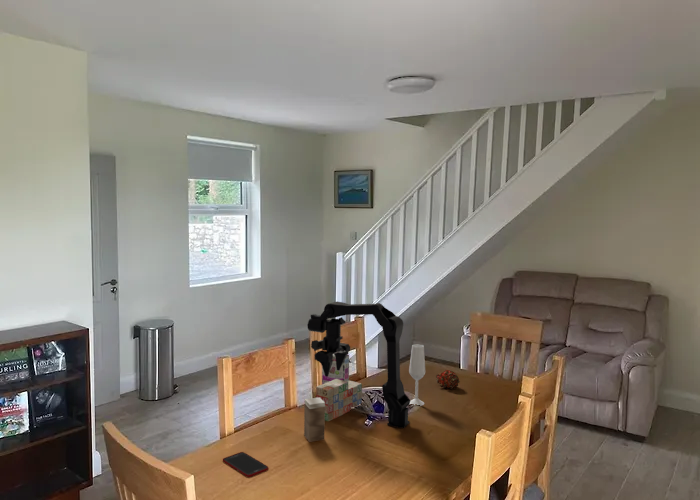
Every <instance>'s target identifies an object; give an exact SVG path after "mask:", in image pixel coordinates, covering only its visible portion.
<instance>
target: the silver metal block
mask: <svg viewBox="0 0 700 500" xmlns="http://www.w3.org/2000/svg"><path fill="white" fill-rule="evenodd" d="M303 416H304V418H303V420H304V421H303V422H304V423H303V424H304V425H303V427H304V429H303V436H304V437H305V439H306V440H307V441H308V442H309V443H310V442H316V441H323V440H325V425H326V424H325V422H326V421H325V402H324V401H323V400H322V399H321V398H320V397H318V398H316V397H313V398H312V397H311V398H305V399H304V415H303Z"/></svg>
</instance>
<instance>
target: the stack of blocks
mask: <svg viewBox="0 0 700 500" xmlns="http://www.w3.org/2000/svg"><path fill="white" fill-rule="evenodd" d="M315 387H316V388H315V393H316V394H315V398H318V397H320V398H321V399H322V400H323V401H324V402H325V422H330V421H332V420H334V419H337V418H339V417H341V416H343V415H345V414H347V413H348V412H351V411H352V410H351V407H355V406H357V405H359V404H361V403H362V401H363V400H362V399H363V389H362V387H363V384H362V383H361V382H357V381H353V380H349V381H348V382H347V381H343V380H339V379H334V380H332V381H329V382H327V383H325V384H322V383H321V384H319V385H317V386H315ZM350 410H351V411H350Z"/></svg>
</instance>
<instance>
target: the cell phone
mask: <svg viewBox="0 0 700 500" xmlns="http://www.w3.org/2000/svg"><path fill="white" fill-rule="evenodd" d="M222 462H223V463H224V462H225V463H224V464H226V465H227V464H228V466H229V467H231V468H232V469H234V470H235V469H236V471H237V470H238V471H239V472H238V471H237V472H238V473H240V474H241V475H242V476H244V475H245V476H244V477H246V478H251V477H254V476H257V475H259V474H262V473H264V472H267V471H268V470H269V466H268V465H266V464H265V463H263V462H261V460H258V459H257V458H254V457H253V456H251V455H249V454H248V453H247V452H244V451H241V452H236V453H234V454H231V455H229V456H225V457H224V458H222Z"/></svg>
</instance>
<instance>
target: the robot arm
mask: <svg viewBox="0 0 700 500" xmlns="http://www.w3.org/2000/svg"><path fill="white" fill-rule="evenodd" d="M348 315H349V316H355V315H356V316H357V315H358V316H360V315H363V316H364V315H367V316H370V315H372V316H373V317H374V318H375V320H376V322H377V324H379V326H380V327H381V328H382V333H383V334H382V335H383V337H384V339H385V341H386V354H387V355H386V363H387V365H386V366H387V367H386V368H387V380H386V382H384V384H382V385H381V386H382V387H381V389H382V395H381V396H382V397H383V401H384V402H385V403H386V405H387V408H388V410H387V412H388V413H387V415H388V416H387V422H388V423H387V425H388V426H390V427H396V428H399V429H405V428H406V427H407V426H408V425H409V424H410V423H411V422H410V420H409V407H408V406H409V405H410V401H411V399H410V398H409V396H408V395H407V394H406V393H405V388H404V384H403V381H402V380H401V366H400V365H401V364H400V361H401V358H400V357H401V356H400V354H401V353H400V352H401V351H400V350H401V349H400V340H401V337H402V334H403V329H404V321H403V319H402V318H401V317H400V316H397V315H396V314H395V313H394V312H392V311H391V310H389V309H388V308H387V307H385V305H383V304H382V303H380V302H376V303H353V304H352V303H346V302H343V301H334V302H331V303H326V304H325V306H324V309H323V311H322V313H321V314H319V315H318V314H316V313H312V314H310V317H309V320H308V321H307V329H308V331H309V332H314V333H321V334H323V333H325V336H323V338H322V339H321V340H318V339H315V340H313V341H311V344H310V345H311V346H310V348H311V349H312V350H314V352H315V354H314V360H315V361H317V362H318V363H320V365H321V368H322V367H323V370H324V374H325V376H326V377H328V375H329V372H330V369H331V366H332V362H333V360H332V359H333V354H334V355H335V357H336V368H337V370H340V368H341V366H342V364H343V362H344V360H345V358H346V356H347V354H348V355H349V352H350V351H351V345H350V344H349V343H345V342H343V343H342V342H341V340H343V336H342V334H341V329H342V328H341V326H342V325H345V324H346V323H347V321H346V320H345V319H344V318H343V317H344V316H348ZM342 316H343V317H342ZM318 350H319V351H318ZM316 351H317V352H316Z"/></svg>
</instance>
